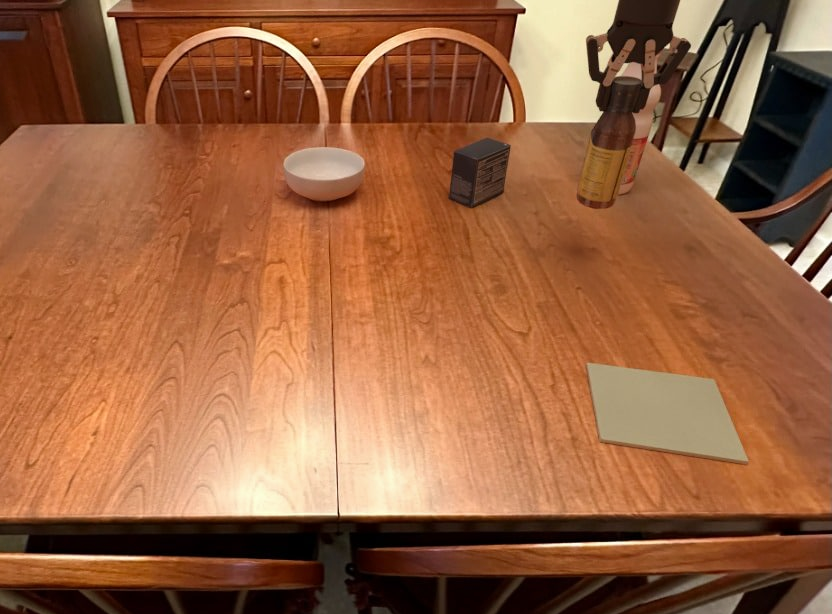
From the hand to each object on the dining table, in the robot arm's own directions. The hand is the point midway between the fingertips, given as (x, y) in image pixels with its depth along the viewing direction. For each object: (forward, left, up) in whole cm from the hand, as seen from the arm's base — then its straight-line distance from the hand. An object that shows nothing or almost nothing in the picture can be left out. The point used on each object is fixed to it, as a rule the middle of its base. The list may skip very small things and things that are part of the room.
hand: (618, 110), depth 91 cm
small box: (+18, -20, -26) cm, 37 cm away
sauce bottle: (0, 0, -15) cm, 15 cm away
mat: (-6, +37, -25) cm, 45 cm away
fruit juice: (-9, -30, -26) cm, 41 cm away
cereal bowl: (+49, -15, -26) cm, 57 cm away
